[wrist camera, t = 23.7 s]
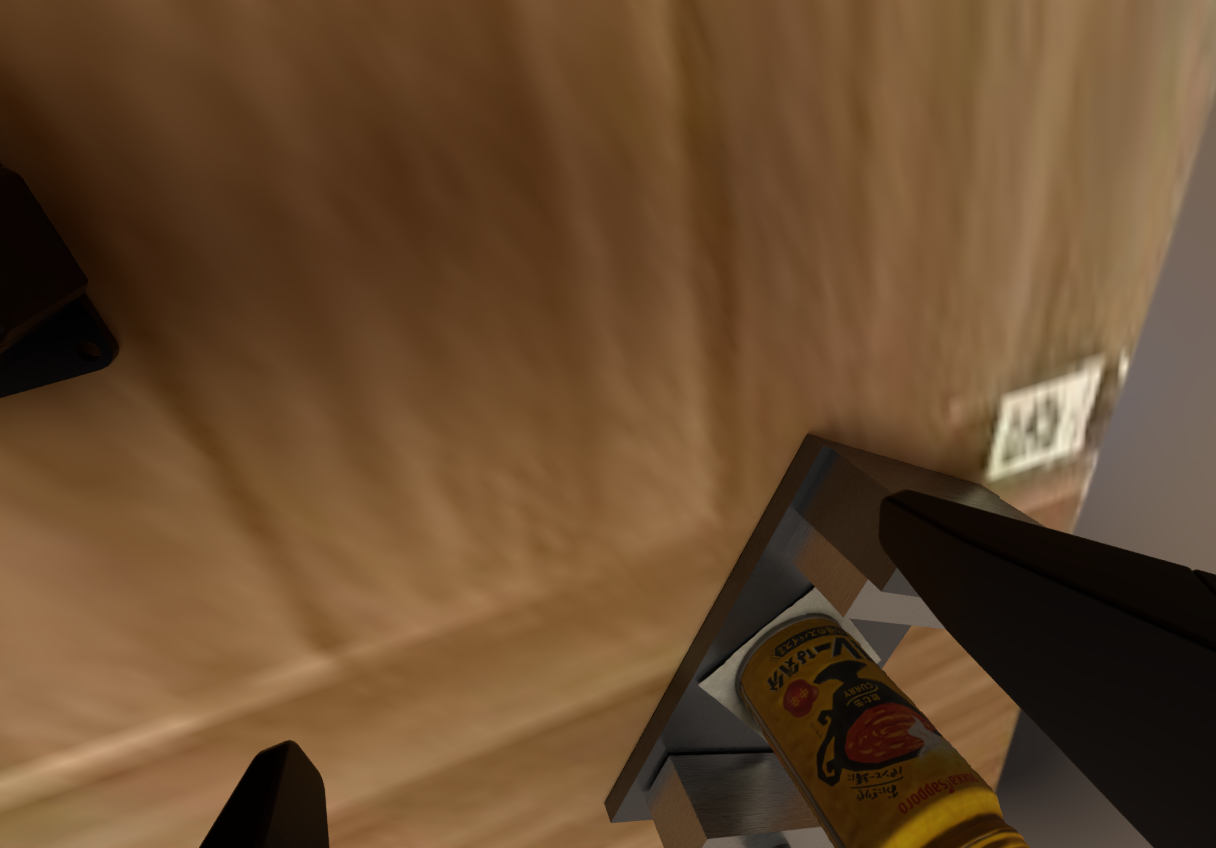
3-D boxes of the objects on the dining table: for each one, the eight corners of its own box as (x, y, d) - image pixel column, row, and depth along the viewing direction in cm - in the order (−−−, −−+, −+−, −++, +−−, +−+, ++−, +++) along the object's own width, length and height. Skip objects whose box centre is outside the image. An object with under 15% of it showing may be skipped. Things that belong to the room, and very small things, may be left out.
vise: (776, 792, 37) (840, 899, 32) (604, 804, 32) (648, 935, 27) (982, 485, 30) (1104, 560, 25) (807, 434, 25) (918, 517, 20)
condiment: (818, 579, 28) (1073, 849, 18) (879, 657, 32) (1109, 907, 22) (695, 680, 28) (877, 1002, 18) (772, 744, 33) (951, 1029, 23)
